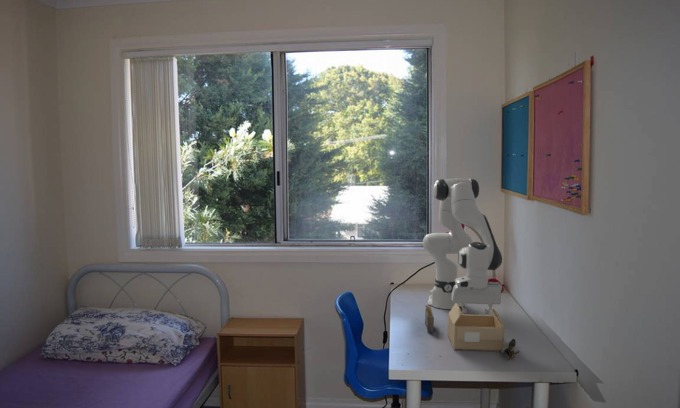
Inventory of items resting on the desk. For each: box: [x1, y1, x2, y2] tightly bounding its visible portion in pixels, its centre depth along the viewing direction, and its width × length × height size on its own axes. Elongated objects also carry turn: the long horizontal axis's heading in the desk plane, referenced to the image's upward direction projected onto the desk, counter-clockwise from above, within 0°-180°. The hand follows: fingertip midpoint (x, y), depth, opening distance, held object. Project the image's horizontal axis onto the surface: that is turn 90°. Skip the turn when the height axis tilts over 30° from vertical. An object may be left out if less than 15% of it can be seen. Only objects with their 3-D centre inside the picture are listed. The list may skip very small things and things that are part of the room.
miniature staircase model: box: [424, 304, 435, 334], centre depth 221 cm, size 11×3×10 cm, turn 175°
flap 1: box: [448, 303, 463, 325], centre depth 203 cm, size 13×1×6 cm
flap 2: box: [490, 306, 505, 327], centre depth 202 cm, size 13×1×6 cm, turn 177°
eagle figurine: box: [499, 338, 521, 361], centre depth 191 cm, size 8×7×9 cm
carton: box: [447, 313, 505, 352], centre depth 203 cm, size 16×20×10 cm
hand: (475, 313), depth 202 cm, fingers open, 8 cm apart
